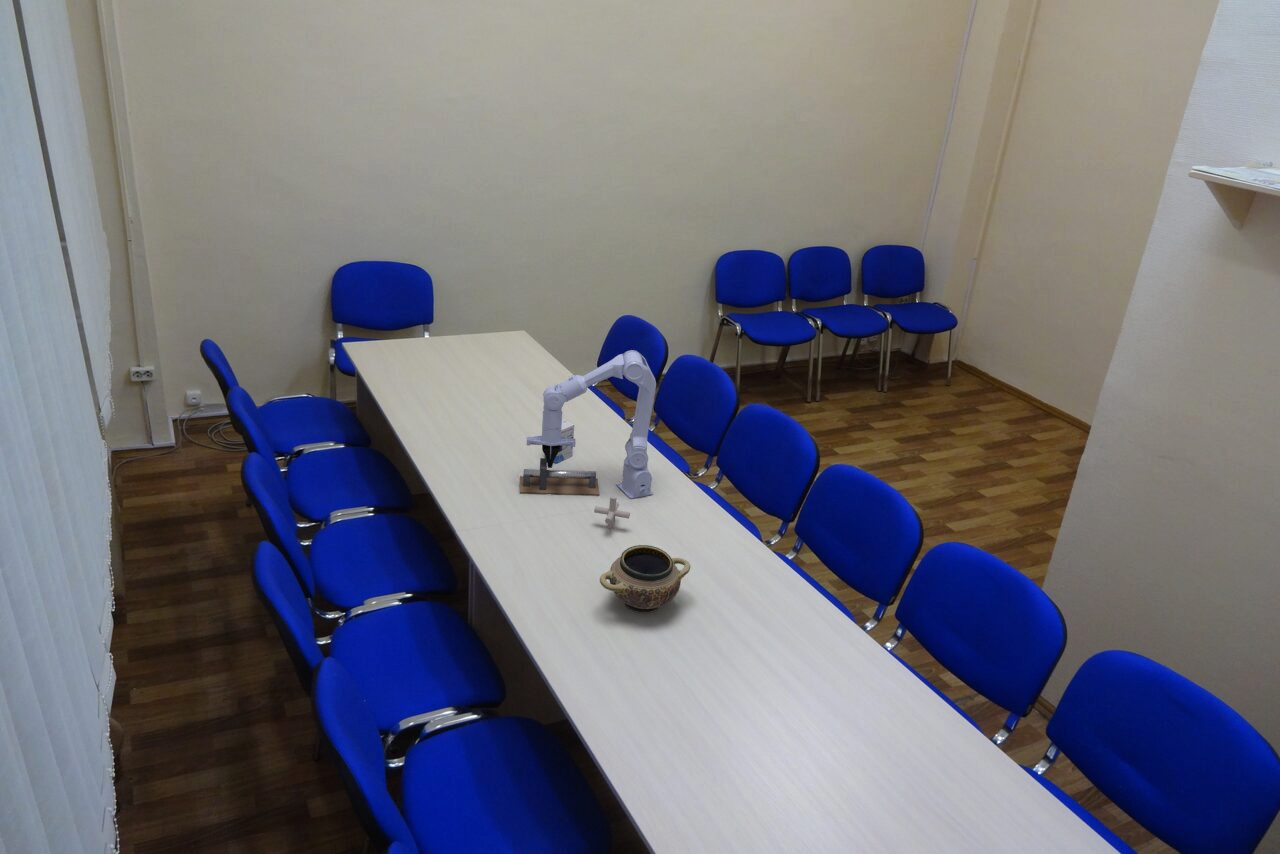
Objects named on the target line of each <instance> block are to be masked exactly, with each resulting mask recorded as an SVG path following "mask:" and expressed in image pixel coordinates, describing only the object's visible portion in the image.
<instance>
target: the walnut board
mask: <svg viewBox="0 0 1280 854" xmlns="http://www.w3.org/2000/svg"><path fill="white" fill-rule="evenodd" d="M588 482H589V479H575V478H547V481H546V489H539V477H530V487H523V475H522V476H521V475H520V477H519V495H546V494H551V495H553V496H554V495H555V496H556V495H557V496H590V497H591V496H592V497H599V496H600V488H599V481H598V477H596V487H595V488H589V484H588Z"/></svg>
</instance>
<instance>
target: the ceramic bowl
mask: <svg viewBox="0 0 1280 854" xmlns="http://www.w3.org/2000/svg"><path fill="white" fill-rule="evenodd" d="M677 564H678V565H679V564H680V565H682V566H683V568H682V569H678V567H677V566H676V565H677ZM690 570H691V563H690V562H689V561H688V560H687V559H684V558H682V557H671V556H670V555H669V554H668V552H666V551H664V550H663V549H662V548H659V547H657V546H653V545H648V544H647V545H646V544H644V545H643V544H638V545H632V546H630V547H628V548H626V549H625V550H624V551H623V552H622V553H621V555H620V556H619V557H618V558H617V559H615V560H614V562H613V563H612V564H611V566H610V568H609V570H608V571H607V572H604V573H602V574H601V576H600V577H599V584H600V585H601V587H603V588H604V589H605V590H608V591H611V592H613V593H614V595H615V596H616V597H617V598H618V599H619V600H620V601H621V602H623V604H624V605H625V607H626V608H627V609H629V610H631V611H633V612H635V613H636V612H637V613H639V614H649V613H654V612H655V611H657V610H659V608H660V607H663V606H665V605H667V604H668V603H669V602H671V601H672V600H673V599H674V598H675V597H676V595H677V594H678V593H679V591H680V588H681V583H682V582H681V581H682V579H684V577H685V576H686V575H687V574H688V573H689V572H690ZM607 580H608V581H609V582H608V581H607Z"/></svg>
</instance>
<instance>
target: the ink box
mask: <svg viewBox="0 0 1280 854" xmlns="http://www.w3.org/2000/svg"><path fill="white" fill-rule="evenodd" d="M574 435H575V423H572V422H570V421H568V420H566V419H562V427H561V436H562V437H567V438H574V437H575V436H574ZM574 439H575V438H574ZM573 449H574V447H572V446H560V451H559V453H558V454H557V456H556V457H555V460H554V462H553V464H555V465H556V464H558V463H561V462H562V461H564V460H567V459H569V458H571V457H573V454H574V453H573V452H574V450H573ZM550 457H551V446H550ZM544 458H546V457H545V456H544Z"/></svg>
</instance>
